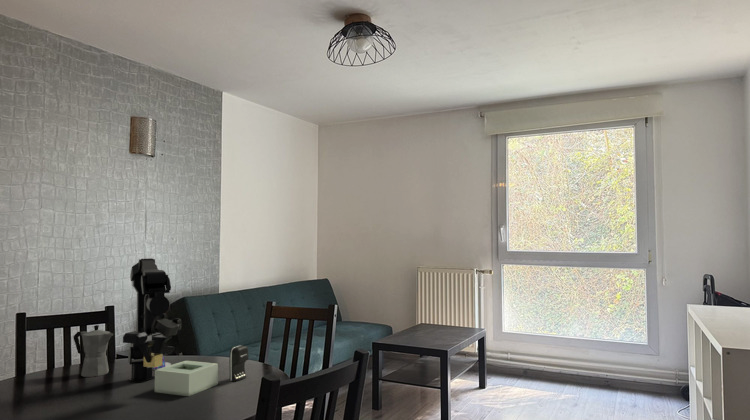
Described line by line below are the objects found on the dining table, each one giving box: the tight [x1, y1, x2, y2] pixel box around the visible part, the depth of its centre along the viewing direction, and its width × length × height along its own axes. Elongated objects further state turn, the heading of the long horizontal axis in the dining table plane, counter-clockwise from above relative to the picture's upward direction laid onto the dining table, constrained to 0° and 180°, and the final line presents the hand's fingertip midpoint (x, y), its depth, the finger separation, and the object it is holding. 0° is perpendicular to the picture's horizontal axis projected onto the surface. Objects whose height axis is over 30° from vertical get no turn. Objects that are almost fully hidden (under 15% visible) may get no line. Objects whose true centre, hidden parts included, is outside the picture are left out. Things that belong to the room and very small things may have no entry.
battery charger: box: [229, 345, 249, 382], centre depth 178 cm, size 7×4×11 cm, turn 159°
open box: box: [154, 360, 219, 397], centre depth 167 cm, size 14×14×7 cm
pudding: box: [152, 352, 172, 371], centre depth 196 cm, size 12×12×5 cm
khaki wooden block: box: [144, 353, 164, 368], centre depth 157 cm, size 4×3×4 cm
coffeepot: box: [73, 324, 114, 378], centre depth 187 cm, size 15×9×18 cm, turn 85°
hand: (153, 361), depth 157 cm, fingers closed on khaki wooden block, 3 cm apart
